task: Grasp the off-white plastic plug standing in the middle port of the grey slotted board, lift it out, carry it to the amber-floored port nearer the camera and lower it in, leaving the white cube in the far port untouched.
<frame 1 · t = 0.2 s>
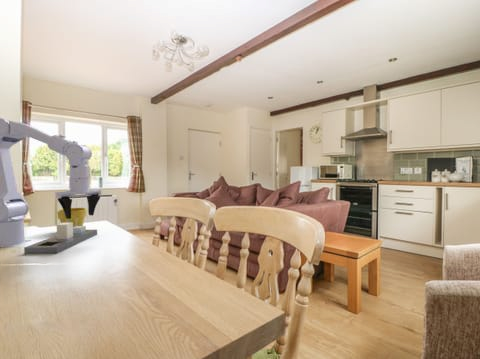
hand: (80, 216, 93), 10 cm above the table, tool pointing down, fingers open, 7 cm apart
white cube: (78, 237, 101), resting on grey slotted board
grey slotted board: (65, 244, 93), on the table
plug: (65, 242, 93), resting on grey slotted board
plant pot: (72, 232, 112), on the table
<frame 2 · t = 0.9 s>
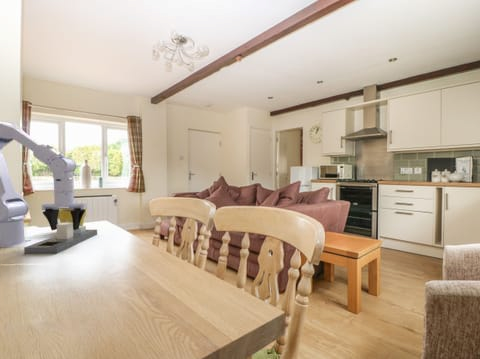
hand: (65, 229, 93), 5 cm above the table, tool pointing down, fingers open, 7 cm apart
nothing on the table moved.
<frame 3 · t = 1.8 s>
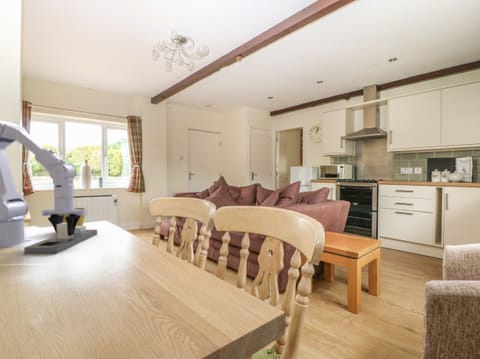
hand: (65, 235, 93), 3 cm above the table, tool pointing down, fingers closed on plug, 3 cm apart
plug: (65, 242, 93), resting on grey slotted board, touching gripper
everything else where it was.
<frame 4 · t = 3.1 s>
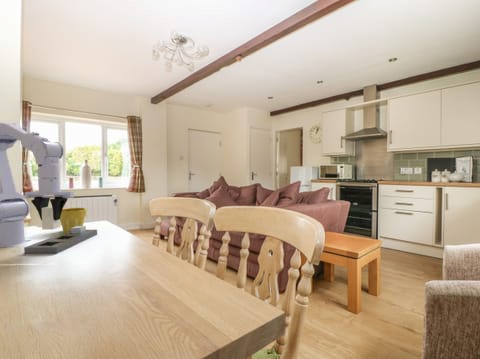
hand: (50, 219, 86), 10 cm above the table, tool pointing down, fingers closed on plug, 3 cm apart
plug: (51, 228, 86), point 7 cm above the table, touching gripper
everything else where it was.
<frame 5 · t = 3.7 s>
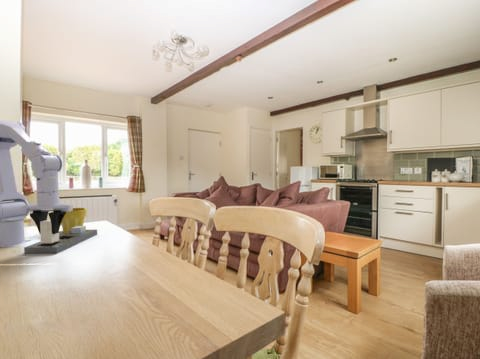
hand: (49, 233, 85), 6 cm above the table, tool pointing down, fingers closed on plug, 3 cm apart
plug: (50, 241, 86), point 3 cm above the table, touching gripper
everything else where it was.
when the fingers open (4 cm above the table, at t = 4.4 s): plug stays where it is, resting on grey slotted board.
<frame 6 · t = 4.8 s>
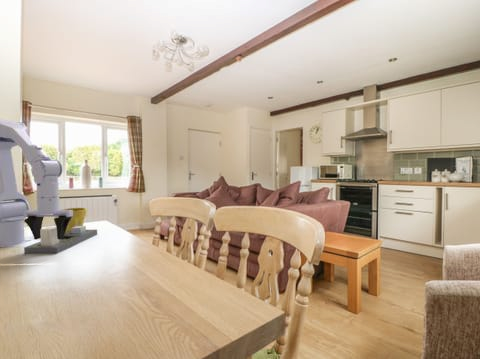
hand: (49, 238, 85), 4 cm above the table, tool pointing down, fingers open, 7 cm apart
plug: (50, 249, 86), point 1 cm above the table, touching grey slotted board
everything else where it was.
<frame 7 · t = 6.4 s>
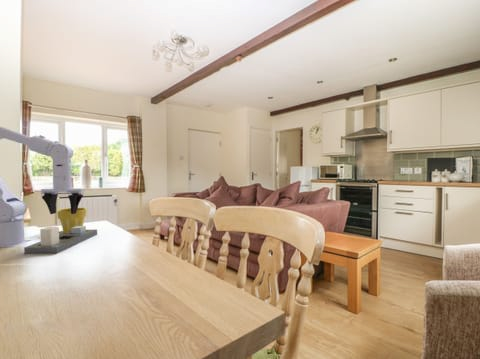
hand: (63, 213, 97), 10 cm above the table, tool pointing down, fingers open, 7 cm apart
nothing on the table moved.
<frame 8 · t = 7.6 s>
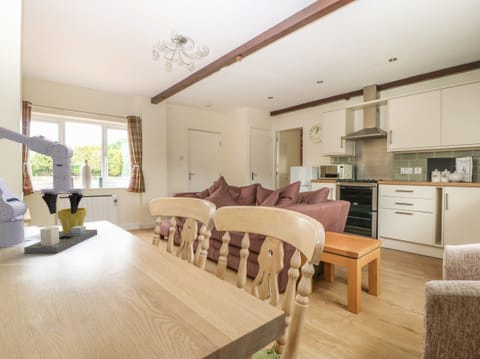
hand: (63, 213, 97), 10 cm above the table, tool pointing down, fingers open, 7 cm apart
nothing on the table moved.
at the end: plug 0.3 cm from the target spot, point 0.6 cm above the table; plug tilted 0°; the gripper is holding nothing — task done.
